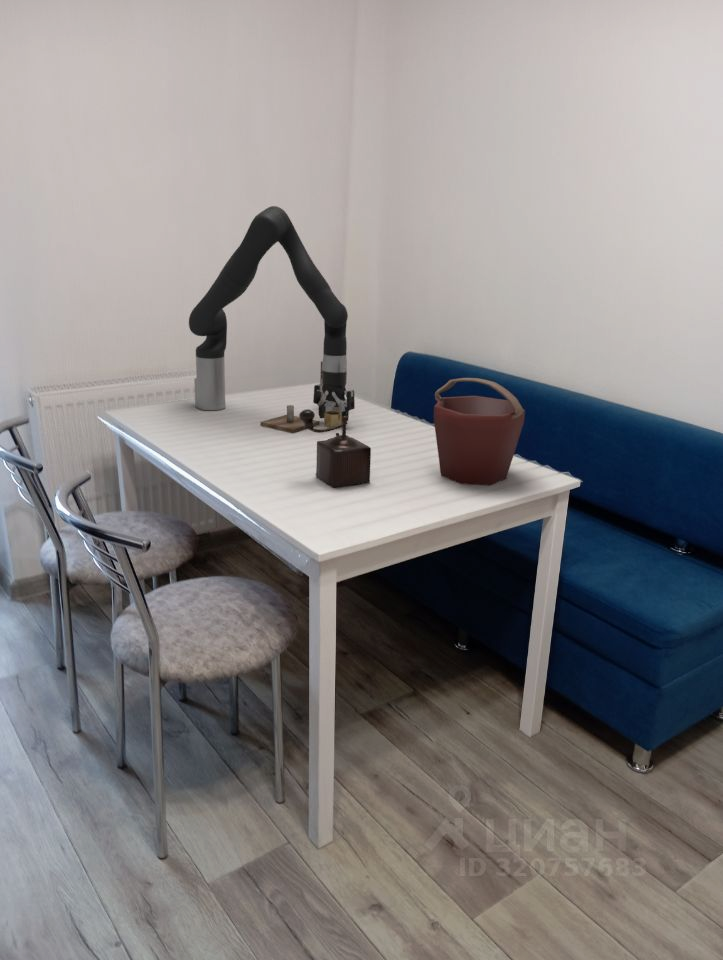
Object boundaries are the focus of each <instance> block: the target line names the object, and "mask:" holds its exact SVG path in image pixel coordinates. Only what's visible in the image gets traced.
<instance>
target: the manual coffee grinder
mask: <svg viewBox="0 0 723 960" xmlns="http://www.w3.org/2000/svg"><path fill="white" fill-rule="evenodd" d="M298 417H300V420H301V421H302V422H303V423H304V429H305V430H309V431H310V432H313V433H319V434H321V433H327V432H331V431H335V430H338V429H340V428H342V430H341V431H342V432H341V434H340V433H339V432H336V433H335V436H334V437H330V438H328V439H325V440H318V441H316V471H315V477H317V479H319V480H320V481H322V482H323V483H324V484H325V485H327V486H329V487H331V488H333V489H339V488H340V489H341V488H347V487H353V486H360V485H364V484H369V483H370V481H371V480H370V479H371V461H372V460H371V457H372V455H371V453H372V449H371V447H370V446H368V445H367V444H365V443H363V442H362V441H360V440H359V439H356V438H354V437H351V436H349V435H347V434H346V433H347V425H348V421H346V420H347V417H346V416H343V417H342V420H343V421H342V423H341V424H339V425H336V426H333V427H326V428H321V429H319V428H315V427H316V426H315V425H314V423H313V420H314V419H315V417H316V415H315V412H314V411H313V410H312V409H310V408H309V409H303V410H302V411H301V412H299V415H298Z"/></svg>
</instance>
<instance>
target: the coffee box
mask: <svg viewBox="0 0 723 960" xmlns="http://www.w3.org/2000/svg"><path fill="white" fill-rule="evenodd" d="M322 362H323V360H321V361H320V383H319V384H321V385H322V386H323V383H322ZM323 395H324V393H323V391H322V393H321V398H322V396H323ZM341 401H342V400H341ZM324 406H326V411H339V412H342V409H341V407H340V406H339V405H338V403H337V402H333V401H328V402H327V403H326V404H325V405H324Z"/></svg>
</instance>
